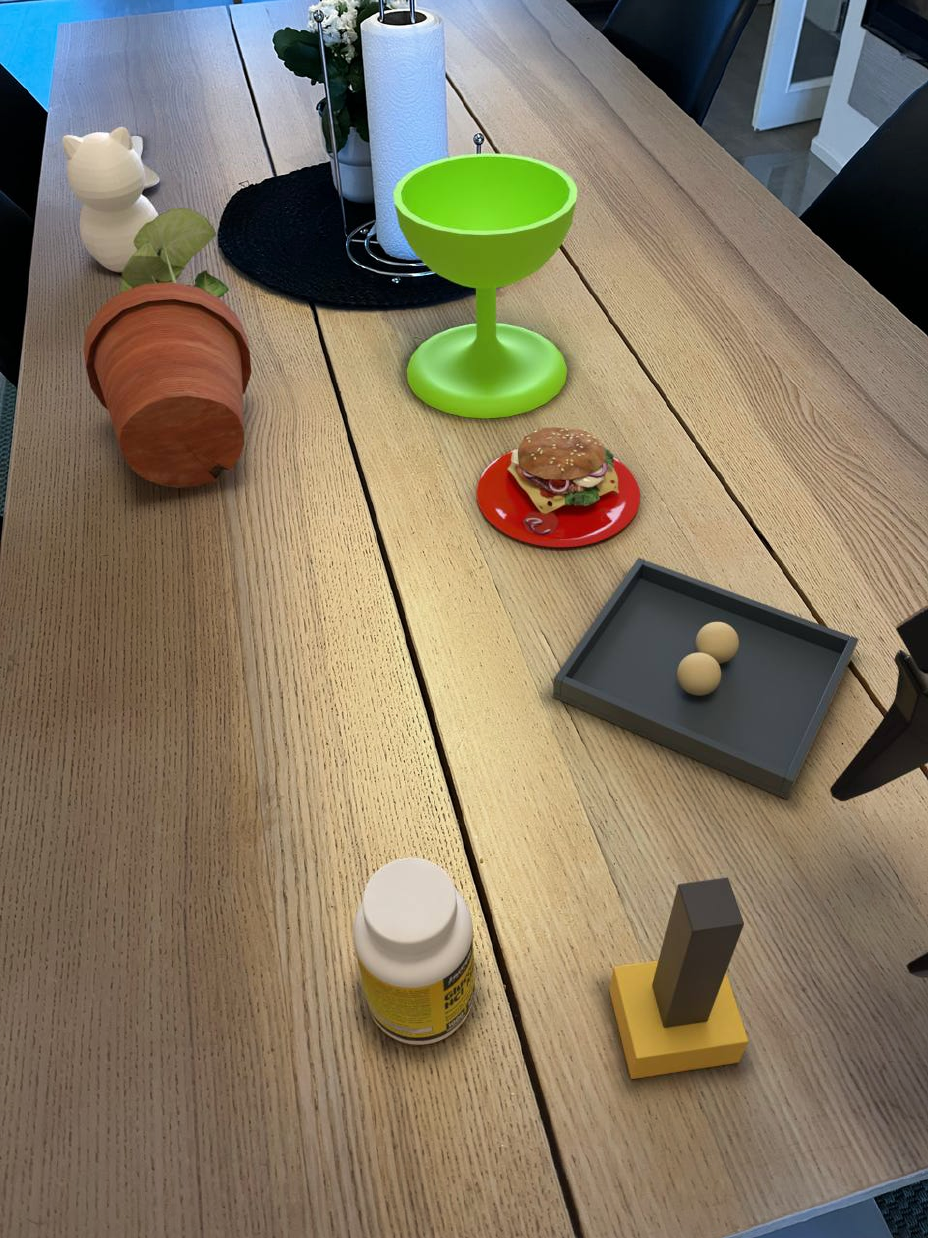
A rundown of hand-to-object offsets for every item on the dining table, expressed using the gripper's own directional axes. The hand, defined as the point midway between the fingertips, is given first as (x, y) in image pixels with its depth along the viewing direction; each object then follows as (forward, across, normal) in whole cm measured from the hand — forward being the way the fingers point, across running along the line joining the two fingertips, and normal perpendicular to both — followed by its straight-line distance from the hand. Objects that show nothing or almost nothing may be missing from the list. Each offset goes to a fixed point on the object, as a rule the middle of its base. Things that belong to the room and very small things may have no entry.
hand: (871, 878), depth 48 cm
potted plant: (+37, -66, -20) cm, 78 cm away
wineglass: (+16, -65, +2) cm, 67 cm away
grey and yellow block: (+15, +1, +3) cm, 15 cm away
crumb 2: (+8, -22, +7) cm, 25 cm away
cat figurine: (+42, -95, -26) cm, 108 cm away
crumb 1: (+7, -25, +9) cm, 27 cm away
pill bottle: (+25, -3, -7) cm, 26 cm away
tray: (+9, -24, +9) cm, 27 cm away
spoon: (+43, -121, -27) cm, 131 cm away
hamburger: (+14, -45, +5) cm, 48 cm away
